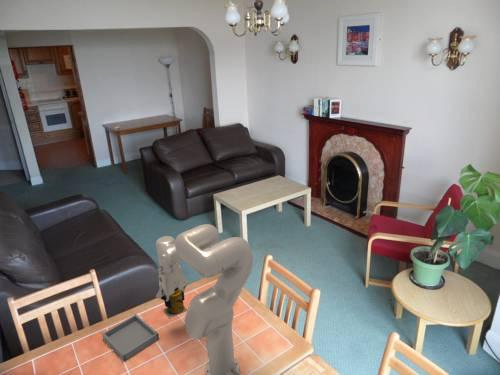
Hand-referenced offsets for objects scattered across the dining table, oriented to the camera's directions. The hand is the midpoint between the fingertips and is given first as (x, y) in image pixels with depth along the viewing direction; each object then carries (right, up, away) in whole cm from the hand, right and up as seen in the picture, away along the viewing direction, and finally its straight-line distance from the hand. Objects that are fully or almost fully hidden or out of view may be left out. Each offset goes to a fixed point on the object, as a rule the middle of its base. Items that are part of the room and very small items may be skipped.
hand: (175, 302), depth 156 cm
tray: (-19, -16, +1) cm, 25 cm away
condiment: (0, -4, 0) cm, 4 cm away
